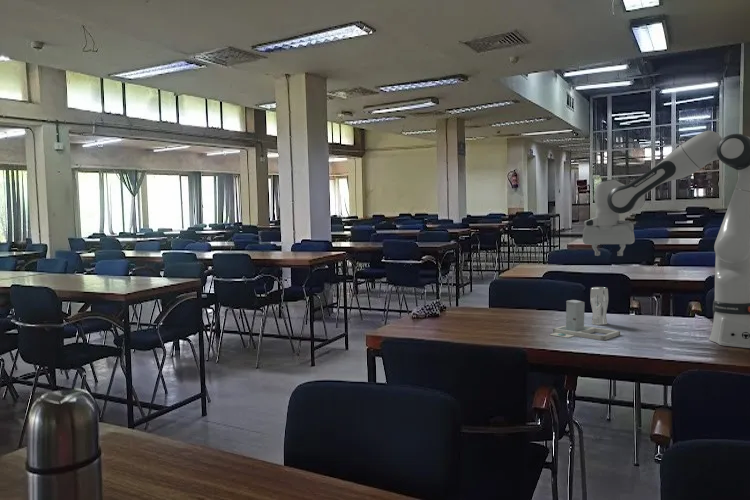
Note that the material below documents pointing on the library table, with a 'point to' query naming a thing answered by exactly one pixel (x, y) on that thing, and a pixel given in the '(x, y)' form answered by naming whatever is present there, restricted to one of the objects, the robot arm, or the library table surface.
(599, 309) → the beer glass
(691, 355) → the library table surface
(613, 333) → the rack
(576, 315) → the skincare box
